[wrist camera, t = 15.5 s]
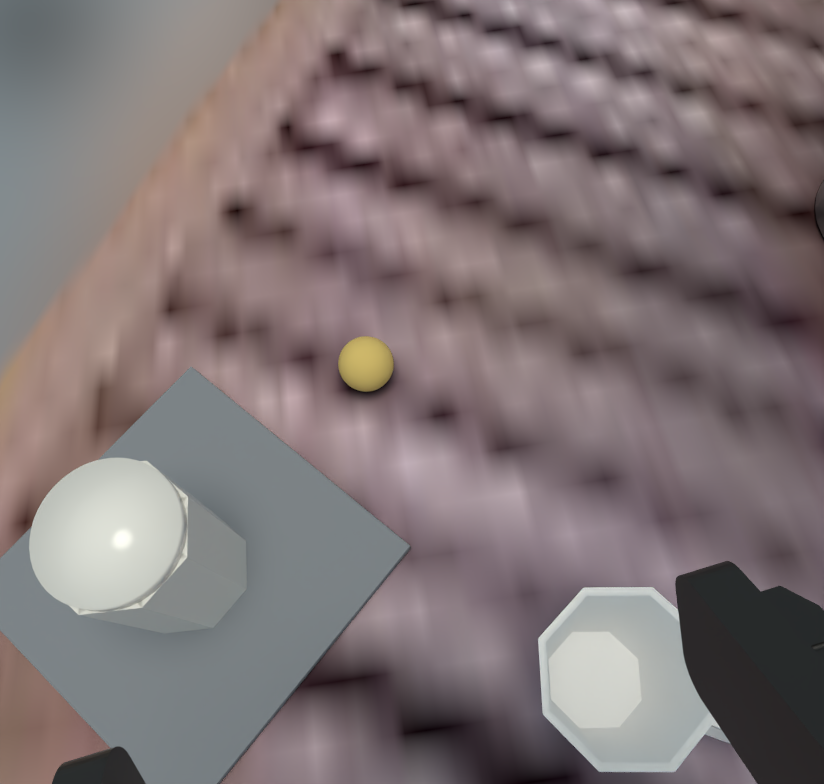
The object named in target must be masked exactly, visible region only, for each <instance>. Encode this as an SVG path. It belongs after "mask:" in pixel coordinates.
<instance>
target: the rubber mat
mask: <svg viewBox="0 0 824 784" xmlns="http://www.w3.org/2000/svg"><path fill="white" fill-rule="evenodd" d="M106 458H129V459H133V460H138V461H148V462H149V463H151V464H152V465H153V466H154V467H156V468H157V469H158V470H160V471H161V472H162V473H163V474H165V475H166V476H167V477H169V478H170V479H171V480H172V481H174V482H175V483H176V484H178V485H179V486H180V487H181V488H183V489H184V490H185V491H187V492H188V493H189V494H190V495H192V496H193V497H194V498H196V499H197V500H198V501H199V502H201V503H202V504H203V505H205V506H206V507H207V508H208V509H210V510H211V511H212V512H214V513H215V514H216V515H217V516H218V517H219V518H220V519H222V520H223V521H224V522H225V523H226V524H227V525H228V526H230V527H231V528H232V529H233V530H234V531H235V532H236V533H238V534H239V535H240V536H241V537H242V538H243V539H244V540H246V565H247V589H246V590H245V592H244V593H243V594H242V595H241V596H240V597H239V599H238V600H237V601H236V602H235V603H234V604H233V606H232V607H231V608H230V609H229V610H228V611H227V613H226V614H225V615H224V616H223V617H222V618H221V620H220V621H219V622H218V623H217V624H216V625H215V626H214V628H209V629H200V630H191V631H182V632H173V633H160V632H155V631H151V630H146V629H141V628H137V627H132V626H127V625H123V624H118V623H113V622H109V621H104V620H99V619H95V618H90V617H85V616H81V615H78V614H77V613H76V612H75V611H74V610H73V609H72V608H71V607H70V606H69V605H67V604H64V603H62V602H60V601H59V600H57V599H56V598H54V597H53V596H52V595H50V594H49V593H48V592H47V591H46V590H45V589H44V587H43V586H42V585H41V584H40V582H39V580H38V579H37V577H36V575H35V572H34V570H33V568H32V564H31V560H30V552H29V539H30V533H31V528H32V527H31V528H30V529H29V530H28V531H27V532H26V533H25V534H24V535H23V536H22V537H21V538H20V539H19V540H18V541H17V542H16V543H15V544H14V545H13V546H12V547H11V548H10V549H9V550H8V551H7V552H6V553H5V554H4V555H3V556H2V557H1V558H0V631H1V632H2V633H3V634H4V635H5V636H6V637H7V638H8V639H9V640H10V641H11V642H12V643H13V644H14V645H15V647H16V648H17V649H18V650H19V651H20V652H21V653H22V654H23V655H24V656H25V657H26V658H27V659H28V660H29V661H30V662H31V664H32V665H33V666H34V667H35V668H36V669H37V670H38V671H39V672H40V673H41V674H42V675H43V676H44V677H45V678H46V680H47V681H48V682H49V683H50V684H51V685H52V686H53V687H54V688H55V689H56V690H57V691H58V692H59V693H60V694H61V696H62V697H63V698H64V699H65V700H66V701H67V702H68V703H69V704H70V705H71V706H72V707H73V708H74V709H75V710H76V711H77V713H78V714H79V715H80V716H81V717H82V718H83V719H84V720H85V721H86V722H87V723H88V724H89V725H90V726H91V727H92V729H93V730H94V731H95V732H96V733H97V734H98V735H99V736H100V737H101V738H102V739H103V740H104V741H105V742H106V743H107V744H108V746H109V747H110V748H114V747H117V746H120V747H122V748H124V749H125V750H126V751H127V752H128V754H129V755H130V757H131V759H132V761H133V762H134V764H135V766H136V768H137V769H138V771H139V773H140V774H141V776H142V778H143V780H144V781H145V783H146V784H220V782H221V781H222V780H223V779H224V778H225V776H226V775H227V774H228V773H229V771H230V770H231V769H232V768H233V766H234V765H235V764H236V763H237V761H238V760H239V759H240V758H241V757H242V755H243V754H244V753H245V752H246V750H247V749H248V748H249V747H250V745H251V744H252V743H253V742H254V741H255V739H256V738H257V737H258V736H259V734H260V733H261V732H262V731H263V729H264V728H265V727H266V726H267V725H268V723H269V722H270V721H271V720H272V718H273V717H274V716H275V715H276V713H277V712H278V711H279V710H280V709H281V707H282V706H283V705H284V704H285V702H286V701H287V700H288V699H289V697H290V696H291V695H292V694H293V693H294V691H295V690H296V689H297V688H298V686H299V685H300V684H301V683H302V681H303V680H304V679H305V678H306V677H307V675H308V674H309V673H310V672H311V670H312V669H313V668H314V667H315V665H316V664H317V663H318V662H319V661H320V659H321V658H322V657H323V656H324V654H325V653H326V652H327V651H328V649H329V648H330V647H331V646H332V645H333V643H334V642H335V641H336V640H337V638H338V637H339V636H340V635H341V633H342V632H343V631H344V630H345V629H346V627H347V626H348V625H349V624H350V622H351V621H352V620H353V619H354V617H355V616H356V615H357V614H358V613H359V611H360V610H361V609H362V608H363V606H364V605H365V604H366V603H367V601H368V600H369V599H370V598H371V597H372V595H373V594H374V593H375V592H376V590H377V589H378V588H379V587H380V585H381V584H382V583H383V582H384V580H385V579H386V578H387V577H388V576H389V574H390V573H391V572H392V571H393V569H394V568H395V567H396V566H397V564H398V563H399V562H400V561H401V560H402V558H403V557H404V556H405V555H406V553H407V552H408V551H409V550H410V548H411V547H410V545H408V544H407V543H406V542H405V541H403V540H402V539H401V538H400V537H399V536H397V535H396V534H395V533H394V532H392V531H391V530H390V529H389V528H388V527H386V526H385V525H384V524H383V523H381V522H380V521H379V520H378V519H377V518H375V517H374V516H373V515H372V514H370V513H369V512H368V511H367V510H366V509H364V508H363V507H362V506H361V505H359V504H358V503H357V502H356V501H355V500H353V499H352V498H351V497H350V496H348V495H347V494H346V493H345V492H344V491H342V490H341V489H340V488H339V487H337V486H336V485H335V484H334V483H333V482H331V481H330V480H329V479H328V478H326V477H325V476H324V475H323V474H322V473H320V472H319V471H318V470H317V469H316V468H314V467H313V466H312V465H311V464H309V463H308V462H307V461H306V460H305V459H303V458H302V457H301V456H300V455H298V454H297V453H296V452H295V451H294V450H292V449H291V448H290V447H289V446H287V445H286V444H285V443H284V442H283V441H281V440H280V439H279V438H278V437H276V436H275V435H274V434H273V433H272V432H270V431H269V430H268V429H267V428H265V427H264V426H263V425H262V424H261V423H259V422H258V421H257V420H256V419H254V418H253V417H252V416H251V415H250V414H248V413H247V412H246V411H245V410H243V409H242V408H241V407H240V406H239V405H237V404H236V403H235V402H234V401H232V400H231V399H230V398H229V397H228V396H226V395H225V394H224V393H223V392H222V391H220V390H219V389H218V388H217V387H215V386H214V385H213V384H212V383H211V382H209V381H208V380H207V379H206V378H204V377H203V376H202V375H201V374H200V373H198V372H197V371H196V370H195V369H193V368H192V367H190V368H189V369H188V370H187V371H186V372H185V373H184V374H183V375H182V376H181V377H180V378H179V379H178V380H177V381H176V382H175V383H174V384H173V385H172V386H171V387H170V388H169V389H168V390H167V391H166V392H165V393H164V394H163V395H162V396H161V397H160V398H159V399H158V400H157V401H156V402H155V403H154V404H153V405H152V406H151V407H150V408H149V409H148V410H147V411H146V412H145V413H144V414H143V415H142V416H141V417H140V418H139V419H138V420H137V421H136V422H135V423H134V424H133V425H132V426H131V427H130V428H129V429H128V430H127V431H126V432H125V433H124V434H123V435H122V436H121V437H120V438H119V439H118V440H117V441H116V442H115V443H114V444H113V445H112V446H111V447H110V448H109V449H108V450H107V451H106V452H105V454H104V455H103V456H102V457H101V458H100V459H106ZM100 459H99V460H100Z"/></svg>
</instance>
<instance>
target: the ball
mask: <svg viewBox="0 0 824 784" xmlns="http://www.w3.org/2000/svg"><path fill="white" fill-rule="evenodd" d="M338 366H339V371H340V374H341V377H342V378H343V380H344V381H345V382H346V383H347V384H348V385H349V386H350V387H352V388H354V389H356V390H359V391H365V392H368V391H374V390H377V389H379V388H380V387H382V386H383V385H384V384H385V383H386V382H387V381H388V380H389V379H390V377H391V375H392V372H393V367H394V361H393V356H392V353H391V351H390V350H389V348H388V347H387V346H386V344H384V343H383V342H382V341H380V340H379V339H377V338H374V337H367V336H364V337H358V338H356V339H353V340H352V341H350V342H349V343H347V344H346V345H345V347H344V348H343V350H342V351H341V353H340V356H339V362H338Z"/></svg>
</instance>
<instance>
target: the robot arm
mask: <svg viewBox="0 0 824 784" xmlns="http://www.w3.org/2000/svg"><path fill="white" fill-rule="evenodd" d="M815 213H816V219H817V223H818V226H819V228H820V230H821V233H822V235H823V237H824V180H823V182H822V183H821V185H820V188H819V190H818V193H817V195H816V203H815ZM675 585H676V595H677V604H678V613H679V621H680V630H681V639H682V647H683V655H684V660H685V664H686V667H687V670H688V673H689V676H690V678H691V680H692V683H693V685H694V687H695V689H696V691H697V693H698V695H699V697H700V698H701V700H702V701H703V703H704V704H705V706H706V707H707V709H708V710H709V712H710V713H711V715H712V716H713V718H714V719H715V721H716V722H717V724H718V725H719V727H720V728H721V730H722V731H723V733H724V734H725V736H726V737H727V739H728V740H729V742H730V743H731V745H732V746H733V748H734V749H735V751H736V752H737V754H738V755H739V757H740V758H741V760H742V761H743V763H744V764H745V766H746V767H747V769H748V770H749V772H750V773H751V775H752V776H753V778H754V779H755V781H756V782H757V784H824V610H823V609H822V608H821V607H820V606H819V605H817V604H815V603H813V602H811V601H809V600H807V599H805V598H803V597H801V596H799V595H797V594H795V593H793V592H791V591H790V590H788V589H786V588H784V587H782V586H778V587H774V588H771V589H768V590H765V591H762V592H760V591H759V589H758V588H757V587H756V586H755V585H754V584H753V583H752V582H751V581H750V580H749V579H748V578H747V576H746V575H745V574H744V573H743V572H742V571H741V570H740V569H739V568H738V567H737V566H736V565H735V564H733V563H732V562H730V561H725V562H722V563H719V564H716V565H712V566H709V567H706V568H703V569H699V570H696V571H693V572H690V573H686V574H683V575H680V576H678V577H677V578H676V584H675ZM52 784H146V783H145V781H144V780H143V778H142V776H141V774H140V773H139V771H138V769H137V768H136V766H135V764H134V762H133V761H132V759H131V757H130V755H129V754H128V752H127V751H126V750H125V749H124V748H122V747H120V746H117V747H114V748H110V749H107V750H104V751H101V752H97V753H94V754H91V755H88V756H84V757H81V758H78V759H74V760H71V761H68V762H65V763H63V764H62V765H61V766H60V767H59V768H58V770H57V772H56V774H55V776H54V779H53V782H52Z"/></svg>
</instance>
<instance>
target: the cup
mask: <svg viewBox="0 0 824 784" xmlns="http://www.w3.org/2000/svg"><path fill="white" fill-rule="evenodd" d="M538 645H539V661H540V678H541V694H542V710H543V715H544V716H545V717H546V718H547V719H548V720H549V721H550V722H551V723H552V724H553V725H554V726H555V727H556V728H557V729H558V731H559V732H560V733H561V734H562V735H563V736H564V737H565V738H566V739H567V740H568V741H569V742H570V743H571V744H572V745H573V746H574V747H575V748H576V749H577V750H578V751H579V752H580V753H581V754H582V755H583V756H584V757H585V758H586V759H587V760H588V761H589V762H590V763H591V764H592V765H593V766H594V767H595V768H596V769H597V770H598V771H599V772H675V771H676V770H677V769H678V767H679V766H680V765H681V764H682V762H683V761H684V760H685V758H686V757H687V756H688V755H689V753H690V752H691V751H692V750H693V748H694V747H695V746H696V745H697V743H698V742H699V741H700V739H701V738H702V737H703V736H704V735H707V736H710V737H712V738H715V739H718V740H721V741H724V742H726V743H729V744H731V743H730V742H729V740H728V739H727V737H726V736H725V734H724V733H723V731H722V730H721V728H720V727H719V725H718V724H717V722H716V721H715V719H714V718H713V716H712V715H711V713H710V712H709V710H708V709H707V707H706V706H705V704H704V703H703V701H702V700H701V698H700V697H699V695H698V693H697V691H696V689H695V687H694V685H693V683H692V680H691V678H690V676H689V673H688V670H687V667H686V664H685V660H684V655H683V647H682V639H681V630H680V621H679V613H678V609H676V608H675V607H674V606H673V605H672V604H671V603H670V602H669V601H668V600H666V599H665V598H664V597H663V596H662V595H661V594H660V593H659V592H658V591H656V590H655V589H654V588H653V587H594V588H583V589H582V590H581V591H580V592H579V593H578V594H577V595H576V597H575V598H574V599H573V600H572V601H571V602H570V603H569V604H568V606H567V607H566V608H565V609H564V610H563V611H562V612H561V613H560V615H559V616H558V617H557V618H556V619H555V620H554V621H553V622H552V623H551V625H550V626H549V627H548V628H547V629H546V630H545V631H544V632H543V634H542V635H541V636H540V637H539V638H538Z"/></svg>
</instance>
